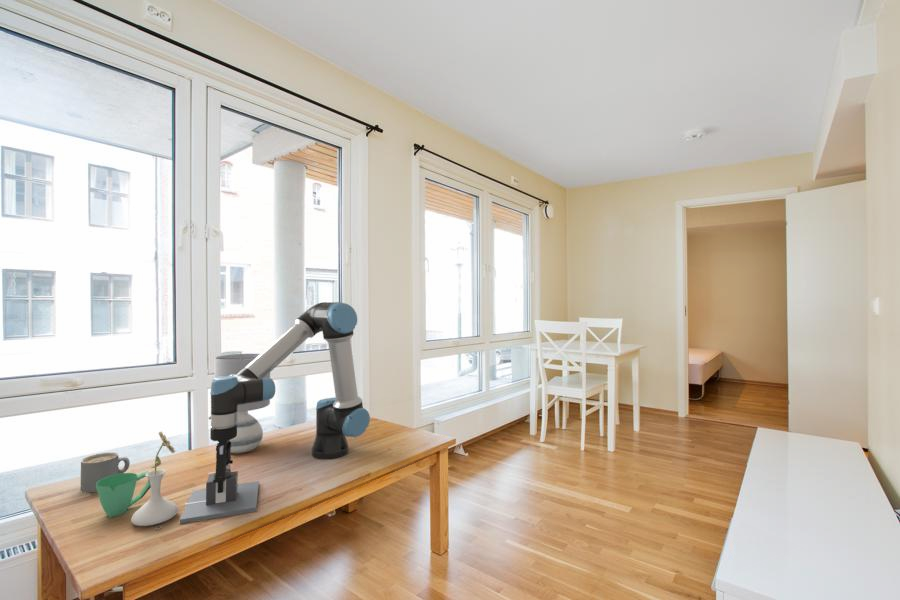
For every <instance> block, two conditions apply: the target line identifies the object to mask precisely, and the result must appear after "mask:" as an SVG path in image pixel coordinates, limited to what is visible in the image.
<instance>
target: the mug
mask: <svg viewBox="0 0 900 600" xmlns="http://www.w3.org/2000/svg"><path fill="white" fill-rule="evenodd" d="M148 472H150V471H144V472H142V473H140V474H137V473H134V472H124V473H122V474H116V475H112V476H109V477H106V478H103V479H101V480H99V481H98V482H97V484H96V489H97V492H96V493H97V494H98V499H99V503H100V505H101V508H102V510H103V511H104V513H105V515H106V516H107V517H118V516H121V515H123V514H125V513H126V512H127V511H128V510H129V508H130V507H131V506H133V505H134V504H135V503H137V502H138V501H140V500H141V499H143V497H144V496H145V495H146V494H147V493H148V491H149V490H151V485H150V481H149V479H148V478H147V477H146V476H145V474H146V473H148ZM144 478H147V482H146V484H145V486H144V487H143V488H142V490H141V491H140V492H139V494H138V495H136V496H134V493H135V488H136V485H137V482H138V481H140V480H142V479H144ZM133 496H134V497H133Z"/></svg>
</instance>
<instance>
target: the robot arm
mask: <svg viewBox="0 0 900 600" xmlns="http://www.w3.org/2000/svg"><path fill="white" fill-rule="evenodd" d="M357 324H358V315H357V312H356V310H355V308H354V307H353V306H351V304H348V303H347V302H346V303H345V302H340V301H335V302H334V301H333V302H330V301H329V302H327V301H326V302H319V303H316V304H314V305H313V306H311V307H310V308H308V309H307V310H306V311H304V312H303V313H302V314H301V315H299V316H298V318H296V319H295V320H294V324H293V325H292V326H291V327H290V328H288V329H287V330H286V331H285V332H284V333H283V334H282V335H280V336H279V337H278V338H277V339H276V340H275V341H274V342H272V344H270V345H268V347H266V348H265V349H264V350H263V351H262V352H261V353H259V354H260V355H259V356H258V357H256V358H255V359H254V360H253V361H252V362H251V363H249V364H248V365H247V366H246V367H245V368H244V369H242V370H241V371H240V372H239V373H235V374H232V375H230V376H223V377H217V378H215V379H214V378H213V379H212V380H211V386H210V416H208V420H210V426H211V428H210V429H209V431H210V432H209V433H210V435H209V436H210V440H211V441H213V442H218V443H216V447H215V451H216V454H215V459H216V460H215V462H216V463H215V472H216V475H215V480H213V483H216V503H221V502H226V478H225V477H226V469H230V470H231V464H233V463H234V462H233V459H232V455H231V454H232V453H231V442H230V439H233V438H235V437H236V436H237V425H236V424H237V414H238V411H237V406H238V405H241V404H247V403H253V402H259V401H265V400H269V399H270V400H271V399H273V398H274V397H275V394H276V384H275V381H274V379H273V378H271V377H270V378H264V377H265V376H267V375H268V374H269V373H270V374H271V372H272V371H274V370H275V368H277V367H278V365H280V364H281V363H282V362H283V361H285V359H287V358H288V357H289V356H290V355H291V354H292V353H293V352H294V351H296V350H297V348H299V347H300V346H301V345H302V344H303V343H305V342H306V340H308V339H309V338H311V339H312V338H313V337H314V336H316V335H317V334H319V333H320V332H322V336H323V340H325V341H326V342H327V344H328V351H329V357H330V358H329V359H330V365H331V366H330V367H331V373H332V380H333V387H334V395H335V397H334V396H333V397H327V398H322V399H320V400H318V401H317V403H316V408H315V410H316V416H315V417H316V418H315V420H316V425H315V427H316V433H315V438H314V441H313V444H312V448H311V456H312V457H314V458H316V459H322V460H327V459H328V460H329V459H337V458H340V457H341V458H342V457H343V456H345V455H347V454H348V453H349V450H350V449H349V447H350V446H349V444H348V440H347V437H350V438H356V437H360V436H361V435H362V434H364V433H365V432H366V430H367V429H368V427H369V425H370V420H371V418H370V417H371V416H370V413H369V411H368V410H367V409H366V408H364V407H363V406H364V405H363V399H362V398H361V397H360V396H359V395H358V388H357V382H356V372H355V365H354V358H353V357H354V356H353V351H352V343H351V342H352V340H351V338H352V337H353V336H354V330H355V328H356V326H357ZM218 477H221V478H218Z"/></svg>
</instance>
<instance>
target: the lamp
mask: <svg viewBox="0 0 900 600" xmlns="http://www.w3.org/2000/svg"><path fill="white" fill-rule="evenodd" d="M260 354H261V353H236V354H235V353H231V354H224V355H219V356H216V357H214V360H213V361H214V363H213V364H214V365H213V368H214V371H213V372H214V373H213V374H214V375H213V379H215V378H217V377H223V376H230V375H232V374H235V373H239V372H240V371H241V370H242V369H244V368H245V367H246V366H247V365H248V364H249V363H251V362H252V361H253V360H254V359H255V358H256V357H258V356H259V355H260ZM264 378H271V372H270V373H269V374H268V375H267V376H265V377H264ZM270 404H271V399H269V400H265V401H259V402H253V403H247V404H241V405H238V406H237V411H238V414H237V424H236V425H237V436H236V437H235V438H233V439H230V442H231V454H244V453H248V452H251V451H254V450H255V449H256V448H257V447H259V445H260V444H261V443H262V441H263V436H264V435H263V434H264V431H263V428H262V425H261V423H260V421H259V420H257V419H256V418H255V417H254V416H253V415H252V414H249V411H254V410H259V409H263V408H266V407H268V406H270Z"/></svg>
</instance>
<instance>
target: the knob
mask: <svg viewBox="0 0 900 600" xmlns="http://www.w3.org/2000/svg"><path fill="white" fill-rule="evenodd" d="M238 474H239V472H238V471H237V470H236V471H232V470H231V468H230V469H226V477H225V478H226V502H231V501H236V497H237V485H238V484H239V483H238V482H239V481H238V480H239V479H238ZM207 475H208V477H207V480H206V483H205V484H206V485H205V489H206V505H212V504H218V503H216V483H213V480H215V475H216V471H212V472H208V473H207ZM218 478H221V477H218ZM221 503H225V502H221Z"/></svg>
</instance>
